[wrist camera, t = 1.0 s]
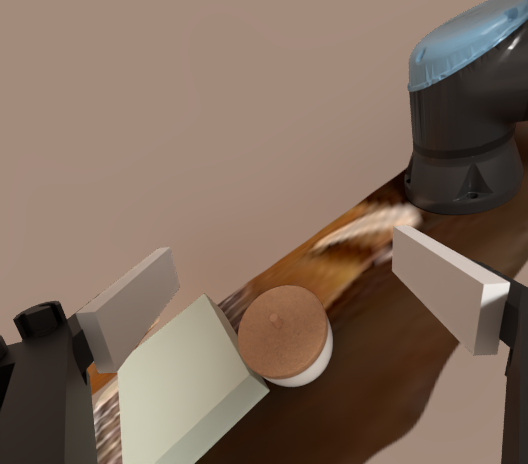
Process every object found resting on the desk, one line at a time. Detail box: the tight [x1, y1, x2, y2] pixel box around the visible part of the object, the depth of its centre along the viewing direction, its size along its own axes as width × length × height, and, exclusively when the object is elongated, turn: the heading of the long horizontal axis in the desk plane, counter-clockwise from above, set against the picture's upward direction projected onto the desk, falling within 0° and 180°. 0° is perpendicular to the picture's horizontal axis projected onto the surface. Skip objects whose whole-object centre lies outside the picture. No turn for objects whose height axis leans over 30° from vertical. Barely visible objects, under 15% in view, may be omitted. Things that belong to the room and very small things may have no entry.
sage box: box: [118, 293, 270, 464], centre depth 35 cm, size 16×16×6 cm
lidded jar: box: [238, 285, 333, 387], centre depth 30 cm, size 11×11×9 cm
